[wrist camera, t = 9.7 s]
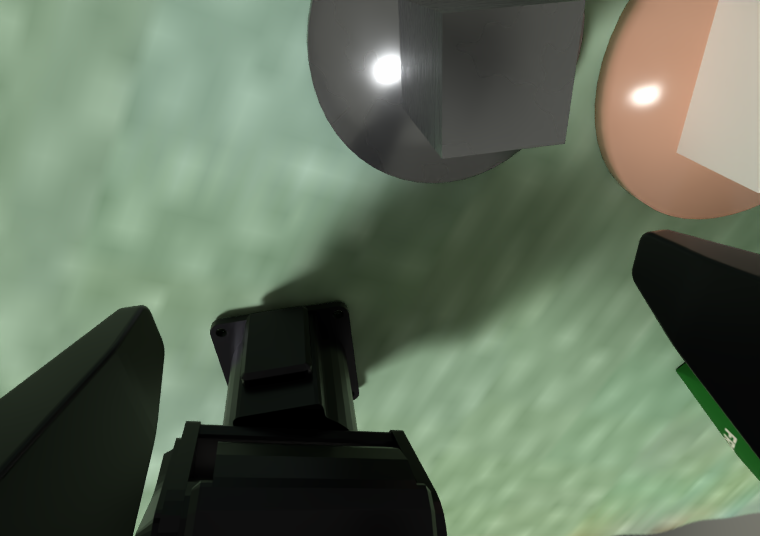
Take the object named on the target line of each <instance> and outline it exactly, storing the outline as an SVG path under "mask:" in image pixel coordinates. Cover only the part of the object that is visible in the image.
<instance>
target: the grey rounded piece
mask: <svg viewBox="0 0 760 536" xmlns="http://www.w3.org/2000/svg"><path fill="white" fill-rule="evenodd" d="M584 7H585V0H311V3H310V9H309V15H308V25H307V50H308V61H309V66H310V71H311V76H312V81H313V85H314V88H315V91H316V94H317V97H318V100H319V103H320V105H321V107H322V110H323V112H324V114H325V116H326V118H327V120H328V121H329V123H330V124H331V126H332V128H333V129H334V131H335V132H336V134H337V135H338V136H339V137H340V139H341V140H342V141H343V142H344V143H345V144H346V146H347V147H348V148H349V149H350V150H352V151H353V152H354V153H355V154H356V155H357V156H358V157H359V158H361V159H362V160H364V161H365V162H366V163H368V164H369V165H371V166H372V167H374V168H376V169H378V170H380V171H382V172H384V173H386V174H388V175H391V176H394V177H397V178H400V179H404V180H409V181H414V182H422V183H443V182H452V181H457V180H462V179H466V178H469V177H472V176H475V175H479V174H481V173H483V172H485V171H488V170H490V169H492V168H494V167H496V166H497V165H499V164H501V163H503V162H504V161H506V160H508V159H509V158H510V157H512V156H513V155H514V154H516V153H517V152H518V151H520V150H521V149H525V148H533V147H541V146H549V145H557V144H565V139H566V132H567V125H568V118H569V111H570V104H571V97H572V90H573V83H574V76H575V69H576V64H577V61H578V58H579V54H580V49H581V44H582V39H583V29H584V18H585V15H584Z"/></svg>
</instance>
